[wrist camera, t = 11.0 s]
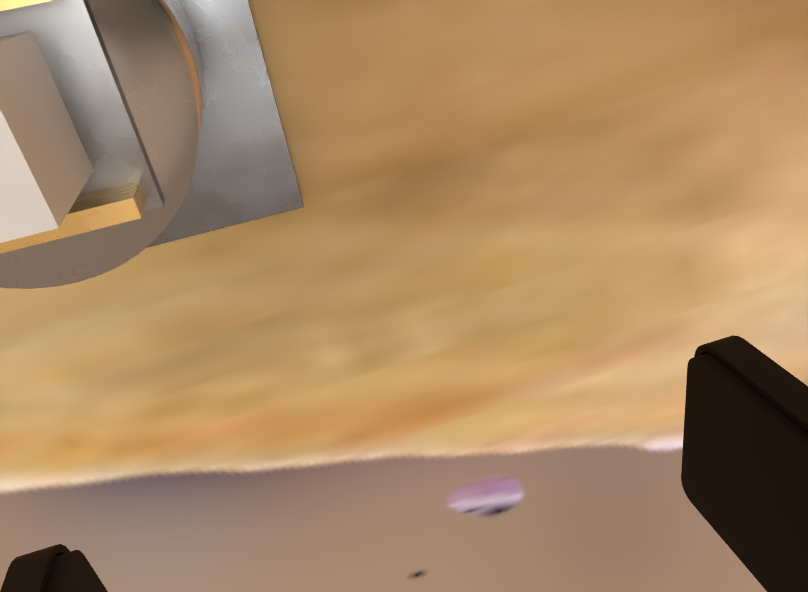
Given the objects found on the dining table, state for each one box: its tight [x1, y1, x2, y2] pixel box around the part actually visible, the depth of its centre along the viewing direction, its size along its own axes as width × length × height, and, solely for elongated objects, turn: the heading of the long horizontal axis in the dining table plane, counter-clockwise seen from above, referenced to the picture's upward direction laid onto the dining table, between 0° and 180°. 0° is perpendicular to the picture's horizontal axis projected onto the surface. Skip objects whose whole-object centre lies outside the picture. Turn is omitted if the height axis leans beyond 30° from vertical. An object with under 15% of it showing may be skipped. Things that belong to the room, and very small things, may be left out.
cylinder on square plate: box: [0, 0, 304, 289], centre depth 27 cm, size 20×20×14 cm
